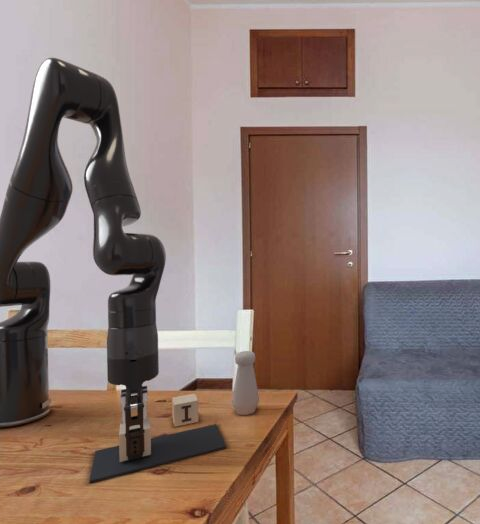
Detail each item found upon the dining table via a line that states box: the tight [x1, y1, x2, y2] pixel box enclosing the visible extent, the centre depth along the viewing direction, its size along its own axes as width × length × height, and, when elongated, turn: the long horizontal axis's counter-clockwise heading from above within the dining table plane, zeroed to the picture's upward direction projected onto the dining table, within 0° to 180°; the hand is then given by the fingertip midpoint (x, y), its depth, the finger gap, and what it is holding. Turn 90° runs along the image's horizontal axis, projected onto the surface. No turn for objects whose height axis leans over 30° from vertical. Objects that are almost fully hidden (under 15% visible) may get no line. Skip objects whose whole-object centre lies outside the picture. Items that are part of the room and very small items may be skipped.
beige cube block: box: [171, 393, 199, 428], centre depth 77 cm, size 4×5×4 cm
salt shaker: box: [231, 350, 260, 416], centre depth 82 cm, size 6×6×13 cm
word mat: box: [88, 423, 227, 484], centre depth 65 cm, size 20×10×1 cm, turn 120°
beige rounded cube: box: [118, 417, 152, 462], centre depth 63 cm, size 4×5×4 cm
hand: (135, 450), depth 63 cm, fingers closed on beige rounded cube, 4 cm apart
